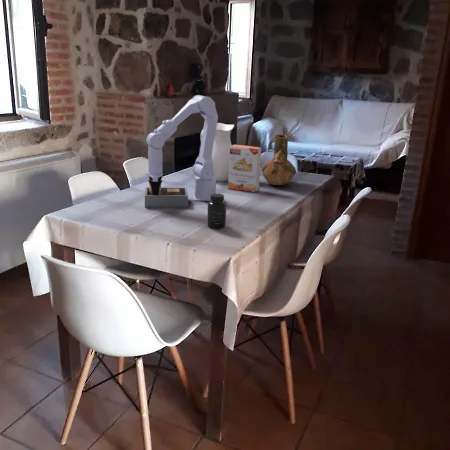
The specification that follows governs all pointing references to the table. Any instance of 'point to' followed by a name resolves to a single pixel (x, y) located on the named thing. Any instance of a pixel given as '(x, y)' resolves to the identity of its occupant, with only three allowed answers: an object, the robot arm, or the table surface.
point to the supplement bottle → (216, 212)
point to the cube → (172, 191)
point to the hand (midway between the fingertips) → (155, 194)
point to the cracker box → (244, 168)
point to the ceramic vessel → (279, 164)
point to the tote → (167, 199)
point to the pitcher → (221, 152)
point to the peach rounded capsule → (151, 190)
